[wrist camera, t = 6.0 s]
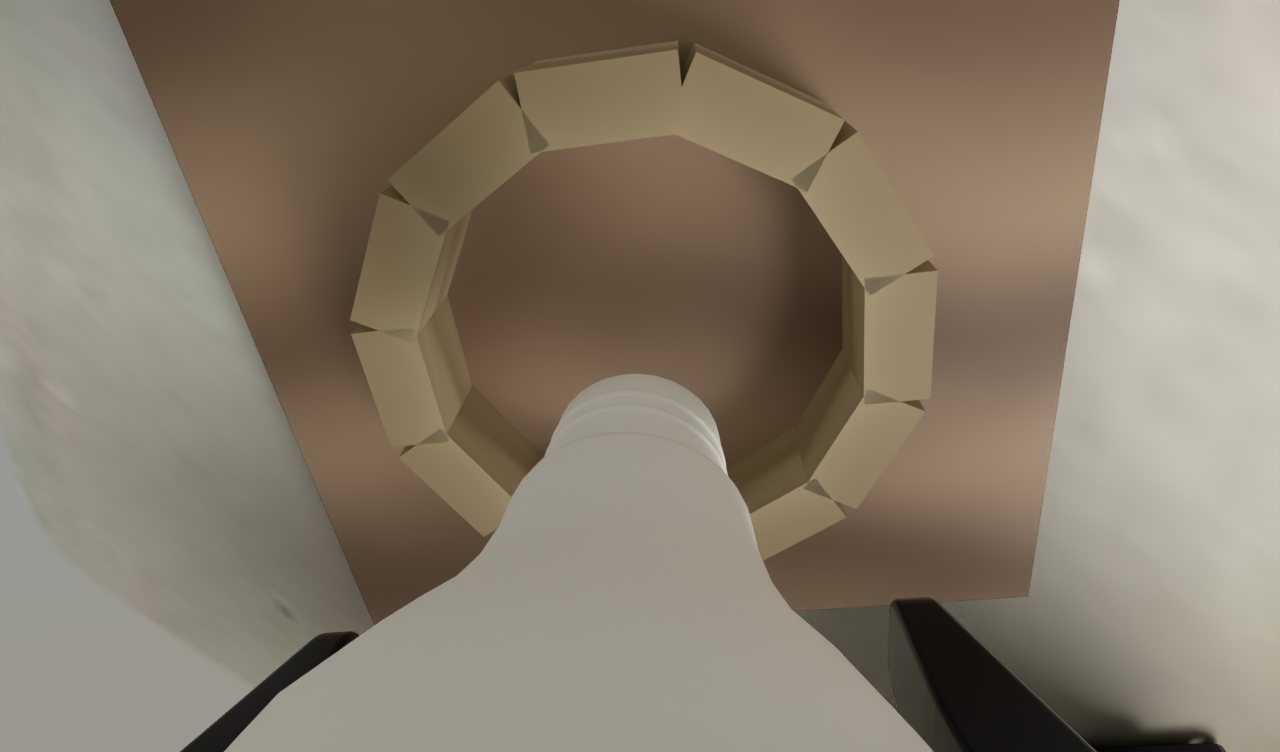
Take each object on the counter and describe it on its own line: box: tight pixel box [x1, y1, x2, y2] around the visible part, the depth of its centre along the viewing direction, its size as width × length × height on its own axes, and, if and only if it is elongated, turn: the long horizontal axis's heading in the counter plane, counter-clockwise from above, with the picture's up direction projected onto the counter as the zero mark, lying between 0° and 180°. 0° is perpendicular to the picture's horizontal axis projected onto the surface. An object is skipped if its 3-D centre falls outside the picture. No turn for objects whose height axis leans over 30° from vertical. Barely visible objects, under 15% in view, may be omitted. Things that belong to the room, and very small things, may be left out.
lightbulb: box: [224, 374, 934, 752], centre depth 7 cm, size 6×6×11 cm
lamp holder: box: [110, 0, 1119, 625], centre depth 15 cm, size 17×17×3 cm
